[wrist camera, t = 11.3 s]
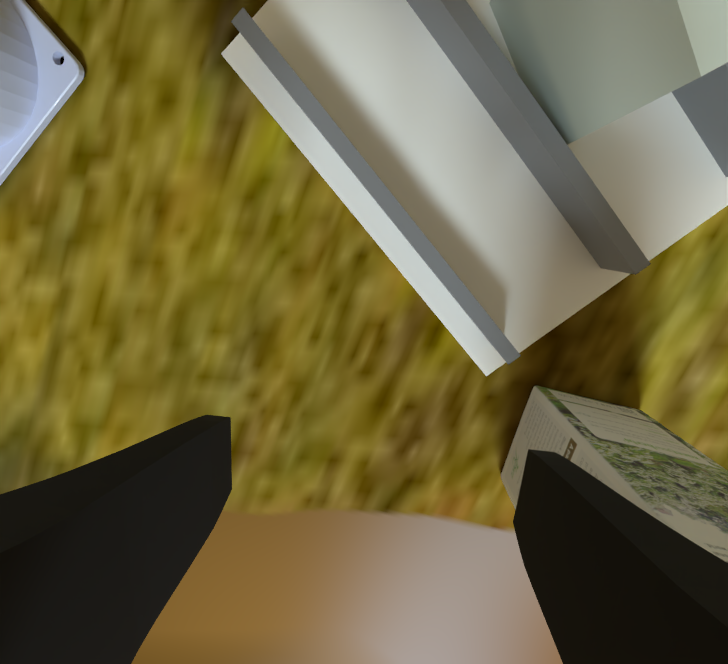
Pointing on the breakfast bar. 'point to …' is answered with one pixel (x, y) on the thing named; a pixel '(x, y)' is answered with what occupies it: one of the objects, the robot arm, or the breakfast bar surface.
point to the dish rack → (480, 160)
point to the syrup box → (627, 462)
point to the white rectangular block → (609, 53)
